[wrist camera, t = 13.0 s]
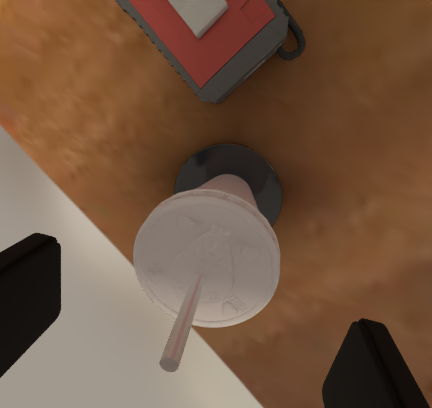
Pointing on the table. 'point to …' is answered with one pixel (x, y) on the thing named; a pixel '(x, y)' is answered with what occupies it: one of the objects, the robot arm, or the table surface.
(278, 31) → the walkie-talkie
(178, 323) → the smoothie
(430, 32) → the table surface
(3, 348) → the robot arm
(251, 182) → the coaster
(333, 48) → the table surface
